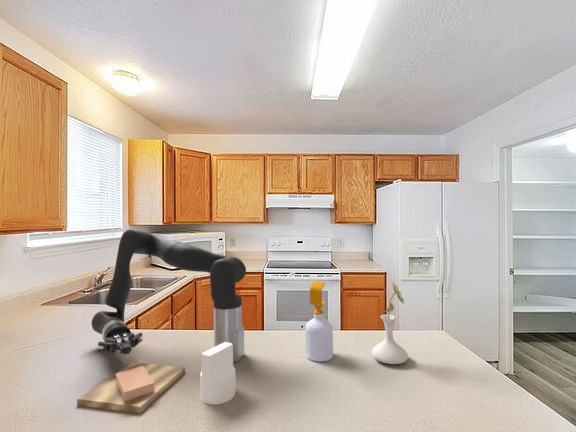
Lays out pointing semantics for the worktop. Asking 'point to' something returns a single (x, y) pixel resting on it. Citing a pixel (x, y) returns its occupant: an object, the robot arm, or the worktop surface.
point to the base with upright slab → (217, 374)
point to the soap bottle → (318, 329)
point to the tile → (134, 383)
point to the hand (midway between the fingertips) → (126, 350)
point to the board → (112, 399)
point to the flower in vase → (390, 338)
